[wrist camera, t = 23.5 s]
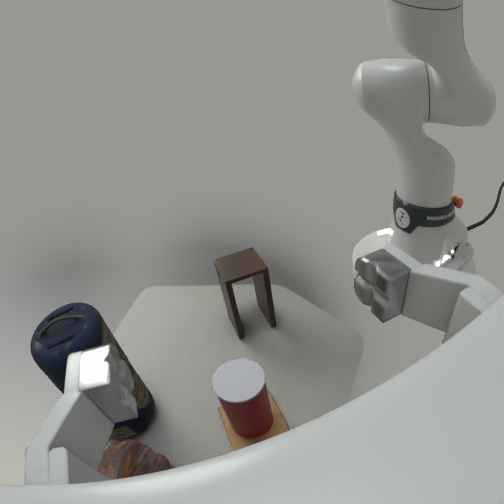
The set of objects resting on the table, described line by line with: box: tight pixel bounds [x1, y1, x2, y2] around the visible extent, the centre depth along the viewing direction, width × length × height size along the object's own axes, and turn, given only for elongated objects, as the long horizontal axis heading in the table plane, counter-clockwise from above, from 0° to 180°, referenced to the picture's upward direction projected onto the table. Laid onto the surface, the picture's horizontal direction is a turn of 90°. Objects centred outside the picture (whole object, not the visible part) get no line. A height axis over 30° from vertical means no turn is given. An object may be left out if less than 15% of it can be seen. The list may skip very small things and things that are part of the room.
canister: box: [31, 303, 154, 438], centre depth 31 cm, size 10×10×18 cm
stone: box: [97, 439, 170, 480], centre depth 22 cm, size 13×8×10 cm
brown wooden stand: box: [214, 248, 276, 339], centre depth 46 cm, size 6×6×11 cm
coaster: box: [218, 390, 289, 451], centre depth 33 cm, size 7×7×1 cm
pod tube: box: [212, 359, 273, 438], centre depth 30 cm, size 5×5×9 cm
